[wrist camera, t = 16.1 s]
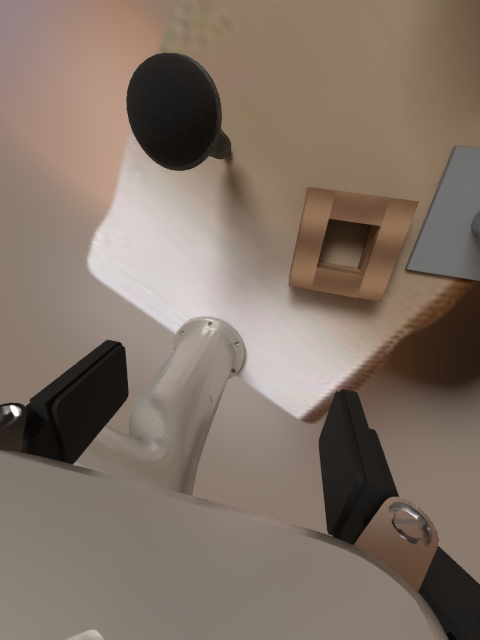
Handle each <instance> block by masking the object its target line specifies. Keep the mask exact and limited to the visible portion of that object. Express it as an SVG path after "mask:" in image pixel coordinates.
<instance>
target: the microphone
mask: <svg viewBox="0 0 480 640" xmlns="http://www.w3.org/2000/svg"><path fill="white" fill-rule="evenodd" d="M126 100H127V113H128V118H129V123H130V126H131V129H132V131H133V133H134V135H135V137H136V139H137V141H138V142H139V144H140V146H141V147H142V149H143V150H144V151H145V152H146V154H147V155H148V156H149V157H150V158H151V159H152V160H153V161H155V162H156V163H157V164H159V165H161V166H162V167H165V168H167V169H170V170H176V171H184V170H189V169H192V168H194V167H196V166H198V165H199V164H201V163H202V162H203V161H204V160H205V159H206V158H207V157H208V156H211V157H214V158H217V159H224V158H226V157H227V156H228V155H229V154H230V152H231V142H230V139H229V138H228V136H227V135H226V134H225V133H224V132H223V131H222V130H221V121H222V110H221V102H220V98H219V94H218V91H217V88H216V86H215V84H214V82H213V80H212V78H211V77H210V75H209V74H208V72H207V71H206V70H205V69H204V68H203V66H201V65H200V64H199V63H198V62H197V61H195V60H194V59H192V58H190V57H188V56H185V55H182V54H178V53H161V54H156V55H154V56H152V57H149V58H148V59H147V60H145V61H144V62H143V63H142V64H140V65H139V67H138V68H137V69H136V71H135V72H134V74H133V76H132V78H131V80H130V83H129V86H128V91H127V99H126Z"/></svg>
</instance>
